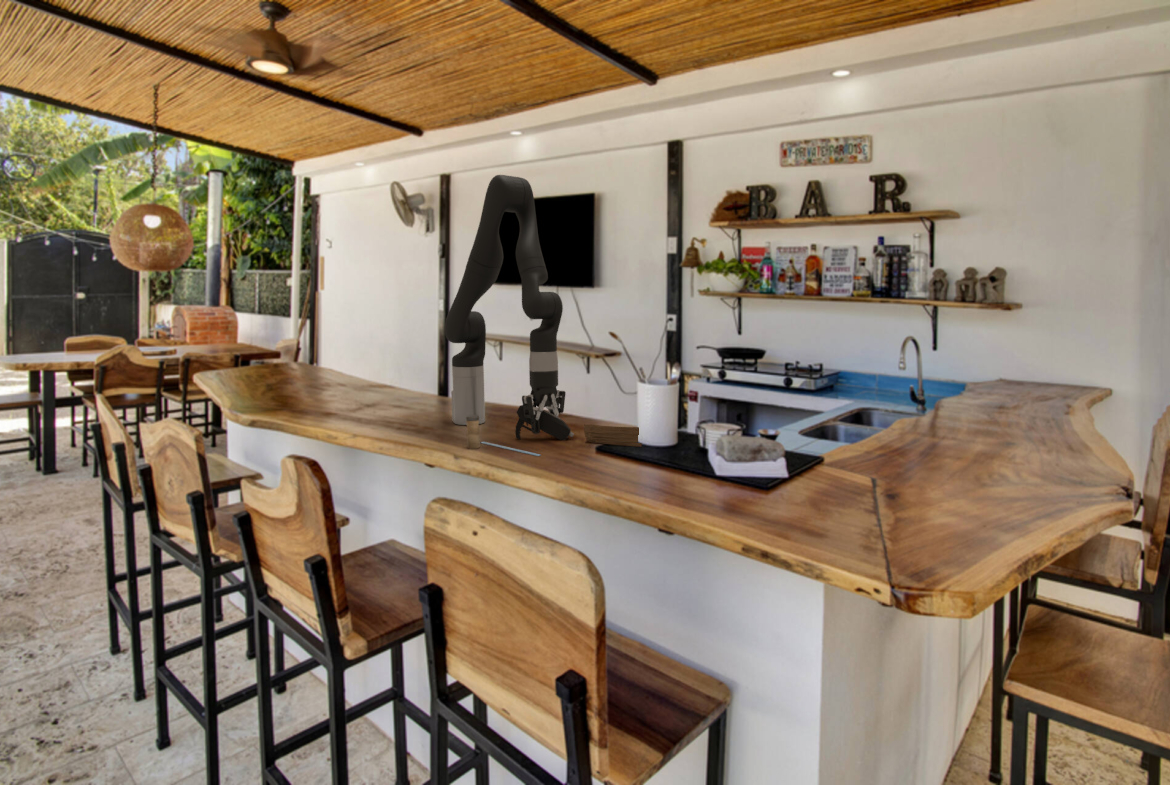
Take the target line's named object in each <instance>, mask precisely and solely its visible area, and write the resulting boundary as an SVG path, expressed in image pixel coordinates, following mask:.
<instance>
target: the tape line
mask: <svg viewBox="0 0 1170 785" xmlns="http://www.w3.org/2000/svg"><path fill="white" fill-rule="evenodd" d="M479 444H483V445H487V446H490V447H491V446H492V447H496V448H500V449H505V450H508V451H512V452H513V451H514V452H518V453H522V454H527V455H531V456H535V457H541V456H542V455H541V454H539V453H535V452H531V451H526V450H523V449H518V448H512V447H508V446H505V445H501V444H496V443H492V442H487V441H481V442H480V441H479Z"/></svg>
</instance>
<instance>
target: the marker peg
mask: <svg viewBox="0 0 1170 785" xmlns="http://www.w3.org/2000/svg"><path fill="white" fill-rule="evenodd" d="M466 420H467V425H466V437H467V438H466V440H467V441H466V442H467V443H466V444H467V446H466V447H467V449H468V450H476V449H479V448H480V444H481V443H480V424H479V416H477V415H470V416H466Z"/></svg>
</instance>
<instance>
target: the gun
mask: <svg viewBox="0 0 1170 785" xmlns="http://www.w3.org/2000/svg"><path fill="white" fill-rule="evenodd" d="M528 411H529V410H528ZM516 414H517V417H518V421H517V423H516V425H515V432H514V433H515V439H517V440H519V441H520V440H521V439H522V437H521V432H522V428H524V429H526V430H528V431H530V432H532V430H531V427H529V426H531V419H530V418H526V417H525V416H524V409H523V404H522V405H519V406H518V408H517V410H516ZM535 415H536V412H535ZM538 420H540V431H542V432H544V433H545V434H548V435H550V436H552V437H554V438H556V439H557V440H560V441H566V440H567V439H569V437H571V438H573V437H574V436H575V433H574V432H572V429H571V428H570V427H569V426H570V425H568V424H567V423H566V422H565V421H564V420H562V419H561V417H559V416H558V417H557V416H555V415H553V414H551V413H549V411H548V410H545V409H543V411H542V412H541V414H540V417H539V419H538ZM524 424H526V425H524Z"/></svg>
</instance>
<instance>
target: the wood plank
mask: <svg viewBox="0 0 1170 785" xmlns="http://www.w3.org/2000/svg"><path fill="white" fill-rule="evenodd" d="M639 427H640V426H639ZM639 427H638V426H636V427H635V426H631V427H630V426H609V425H607V426H606V425H599V424H598V425H597V424H585V423H584V425H583V431H584V437H585V438H586V442H591V443H596V444H601V445H603V444H605V445H610V446H623V447H639V448H641V447H642V443H643V442H642V443H637V442H638V435H639Z"/></svg>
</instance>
